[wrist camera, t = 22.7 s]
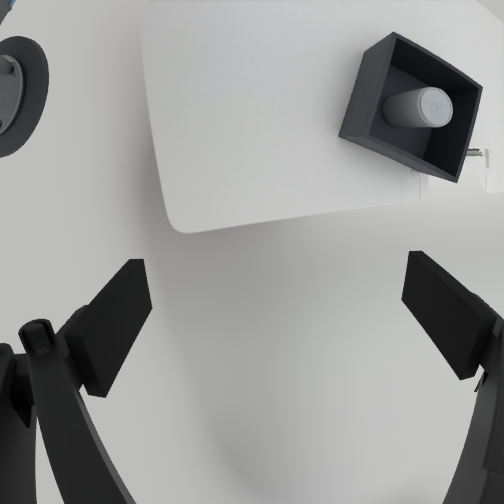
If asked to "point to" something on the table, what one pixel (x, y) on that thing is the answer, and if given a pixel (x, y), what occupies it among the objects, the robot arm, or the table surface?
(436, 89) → the beverage can
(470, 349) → the robot arm
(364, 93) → the trash bin
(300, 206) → the table surface
